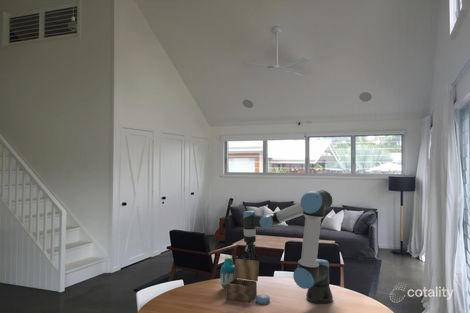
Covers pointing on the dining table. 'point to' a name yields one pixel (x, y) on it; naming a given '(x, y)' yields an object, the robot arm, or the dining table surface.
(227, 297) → the box
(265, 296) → the blue beige round disc
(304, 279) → the robot arm
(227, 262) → the vase
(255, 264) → the lid
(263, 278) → the dining table surface
